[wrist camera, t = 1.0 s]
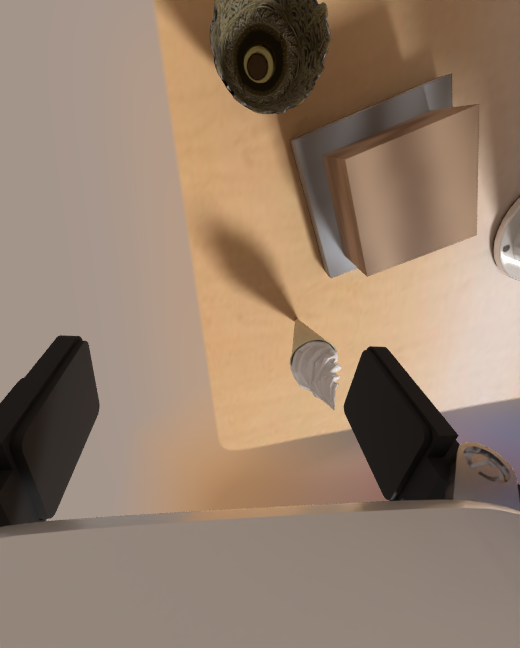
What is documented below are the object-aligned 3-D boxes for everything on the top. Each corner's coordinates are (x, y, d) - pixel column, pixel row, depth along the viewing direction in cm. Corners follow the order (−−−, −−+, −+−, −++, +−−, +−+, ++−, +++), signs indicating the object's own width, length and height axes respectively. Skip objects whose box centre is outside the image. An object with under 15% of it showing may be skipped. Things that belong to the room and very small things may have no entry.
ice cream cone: (271, 312, 38) (298, 400, 25) (310, 296, 38) (358, 378, 25) (284, 343, 41) (315, 436, 28) (320, 329, 40) (369, 418, 27)
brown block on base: (437, 77, 28) (509, 57, 21) (443, 226, 35) (498, 247, 28) (290, 140, 29) (312, 141, 22) (325, 271, 36) (350, 302, 29)
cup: (317, 79, 27) (351, 58, 20) (250, 139, 28) (261, 139, 22) (266, -22, 23) (286, -89, 16) (193, 53, 25) (184, 21, 18)
